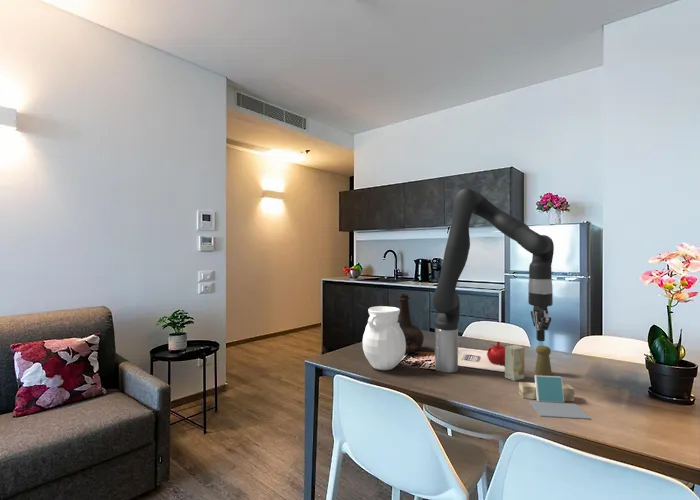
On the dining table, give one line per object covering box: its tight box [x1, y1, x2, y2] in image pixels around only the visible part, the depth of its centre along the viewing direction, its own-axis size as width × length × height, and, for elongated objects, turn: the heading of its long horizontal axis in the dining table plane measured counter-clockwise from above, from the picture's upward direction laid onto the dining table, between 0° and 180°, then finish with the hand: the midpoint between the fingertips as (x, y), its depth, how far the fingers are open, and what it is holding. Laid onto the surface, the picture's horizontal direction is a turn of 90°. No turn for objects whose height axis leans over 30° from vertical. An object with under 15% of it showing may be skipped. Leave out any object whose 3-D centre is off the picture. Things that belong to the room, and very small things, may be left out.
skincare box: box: [504, 344, 525, 382], centre depth 139 cm, size 6×4×12 cm
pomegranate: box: [486, 341, 508, 366], centre depth 158 cm, size 10×10×9 cm
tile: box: [533, 374, 565, 403], centre depth 118 cm, size 8×3×8 cm, turn 82°
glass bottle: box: [397, 293, 425, 354], centre depth 177 cm, size 18×18×28 cm
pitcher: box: [361, 305, 406, 371], centre depth 153 cm, size 19×18×25 cm
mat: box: [528, 400, 592, 420], centre depth 111 cm, size 14×10×1 cm
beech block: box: [518, 381, 575, 402], centre depth 121 cm, size 16×4×4 cm, turn 82°
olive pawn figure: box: [534, 345, 553, 376], centre depth 144 cm, size 6×6×11 cm
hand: (540, 340), depth 126 cm, fingers closed
